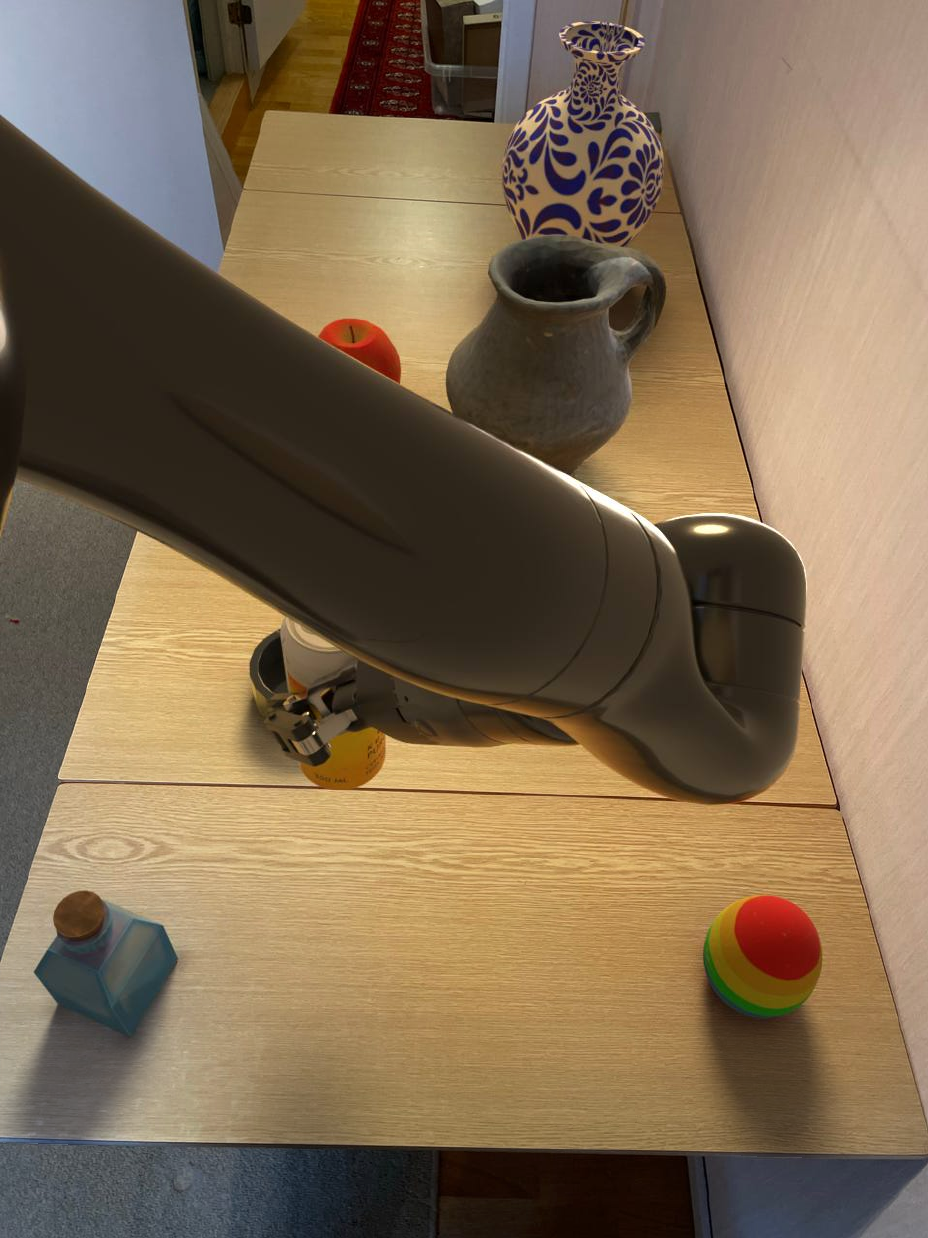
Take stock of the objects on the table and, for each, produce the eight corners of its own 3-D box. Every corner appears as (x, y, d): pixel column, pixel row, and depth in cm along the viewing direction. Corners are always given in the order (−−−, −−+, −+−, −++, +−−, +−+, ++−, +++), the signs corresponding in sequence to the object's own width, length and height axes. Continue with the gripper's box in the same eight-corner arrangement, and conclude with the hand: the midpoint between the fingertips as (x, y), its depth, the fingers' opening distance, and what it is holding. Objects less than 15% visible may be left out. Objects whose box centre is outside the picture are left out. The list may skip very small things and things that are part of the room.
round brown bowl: (361, 727, 88) (360, 701, 85) (255, 737, 87) (250, 712, 84) (353, 646, 94) (351, 619, 91) (253, 654, 93) (248, 627, 90)
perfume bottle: (57, 1003, 71) (7, 938, 62) (107, 927, 75) (67, 855, 66) (130, 1037, 70) (90, 976, 61) (178, 958, 74) (147, 889, 65)
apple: (406, 381, 122) (406, 304, 113) (393, 436, 115) (393, 359, 106) (320, 372, 122) (314, 295, 114) (302, 427, 115) (294, 349, 107)
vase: (613, 324, 132) (659, 88, 109) (469, 280, 137) (484, 46, 114) (662, 252, 145) (712, 28, 122) (528, 214, 150) (552, -7, 127)
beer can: (390, 791, 67) (387, 651, 56) (300, 801, 66) (280, 661, 55) (381, 720, 71) (377, 575, 60) (296, 728, 70) (276, 583, 59)
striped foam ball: (681, 1002, 74) (713, 951, 66) (708, 908, 79) (741, 850, 71) (788, 1050, 72) (834, 1002, 64) (809, 950, 77) (854, 895, 69)
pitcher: (436, 399, 119) (443, 200, 100) (610, 397, 122) (650, 201, 103) (449, 516, 106) (461, 313, 87) (645, 511, 108) (698, 312, 89)
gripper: (516, 539, 53) (369, 575, 67) (315, 693, 46) (197, 697, 59) (580, 655, 55) (424, 666, 69) (396, 820, 47) (263, 796, 61)
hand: (319, 681), depth 64 cm, fingers closed on beer can, 6 cm apart
